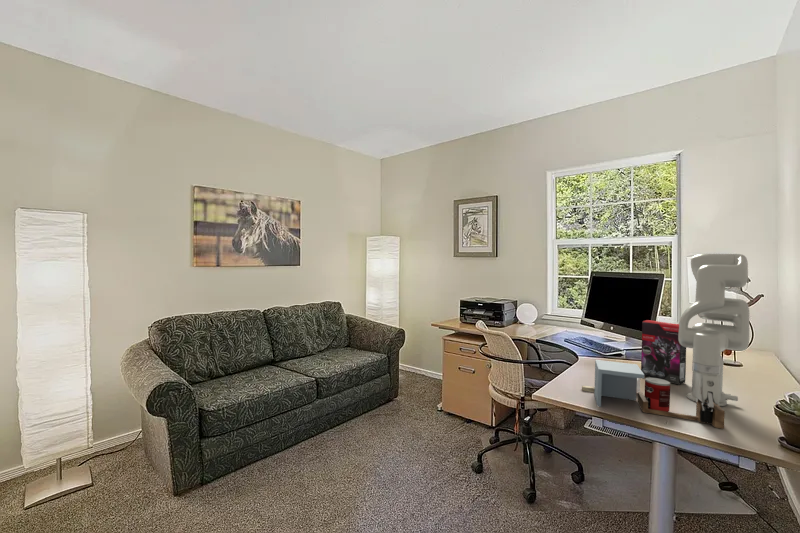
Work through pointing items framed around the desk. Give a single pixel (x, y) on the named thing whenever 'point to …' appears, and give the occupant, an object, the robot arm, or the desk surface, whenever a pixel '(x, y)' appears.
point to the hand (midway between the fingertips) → (703, 419)
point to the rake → (717, 414)
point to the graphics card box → (662, 352)
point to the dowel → (588, 388)
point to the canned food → (657, 394)
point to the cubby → (616, 380)
